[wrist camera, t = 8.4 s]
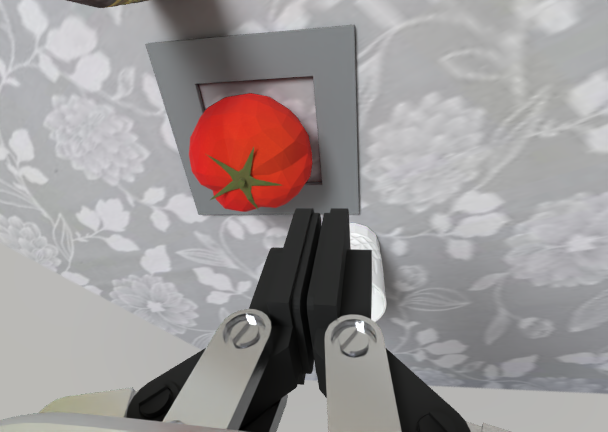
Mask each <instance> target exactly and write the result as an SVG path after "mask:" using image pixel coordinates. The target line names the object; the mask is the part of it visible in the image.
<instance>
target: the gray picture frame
mask: <svg viewBox="0 0 608 432" xmlns="http://www.w3.org/2000/svg"><path fill="white" fill-rule="evenodd" d="M145 45H146V48H147V51H148V54H149V57H150V61H151V64H152V67H153V70H154V73H155V77H156V80H157V83H158V86H159V89H160V93H161V96H162V99H163V102H164V105H165V109H166V112H167V115H168V118H169V121H170V125H171V128H172V131H173V134H174V137H175V141H176V144H177V147H178V150H179V154H180V157H181V160H182V163H183V166H184V170H185V173H186V176H187V179H188V182H189V186H190V189H191V192H192V195H193V198H194V202H195V205H196V208H197V211H198V214H199V215H233V214H294V212H295V210H296V208H313V209H314V213H320V214H324V213H330V210H331V208H348V210H349V214H359V192H358V152H357V111H356V71H355V31H354V25H346V26H335V27H324V28H313V29H302V30H290V31H279V32H268V33H257V34H245V35H234V36H223V37H212V38H201V39H189V40H178V41H167V42H156V43H148V44H145ZM304 76H313V82H314V93H315V105H316V117H317V128H318V140H319V152H320V163H321V175H322V182H310V183H305V185H304V186H303V188H302V189H301V190H300V192H299V193H298V195H296V196H295V197H294V198H293V199H291V200H290V201H289V202H288V203H286V204H284V205H282V206H279V207H277V208H271V207H259V208H258V210H257V209H254V210H251V211H247V212H241V211H235V210H229V209H225V208H224V207H223V206H222V205H221V204H220V203H219V202H218V201H217V200H216V199H215V198H214V199H212V200H210V199H211V198H212V197H213V196H214V194H213V191H212V190H211V189H209V188H207V187H205V186H203V185H201V184H200V183H199V181H198V180H197V178H196V177H195V175H194V174H193V173H192V170H191V164H190V158H189V147H190V137H191V135H192V133H193V131H194V129H195V127H196V125H197V123H198V121H199V118H200V117H201V115H202V114H203V113H204V112H205V111H204V107H203V103H202V99H201V95H200V91H199V87H198V84H200V83H215V82H230V81H244V80H259V79H274V78H289V77H304Z"/></svg>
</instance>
